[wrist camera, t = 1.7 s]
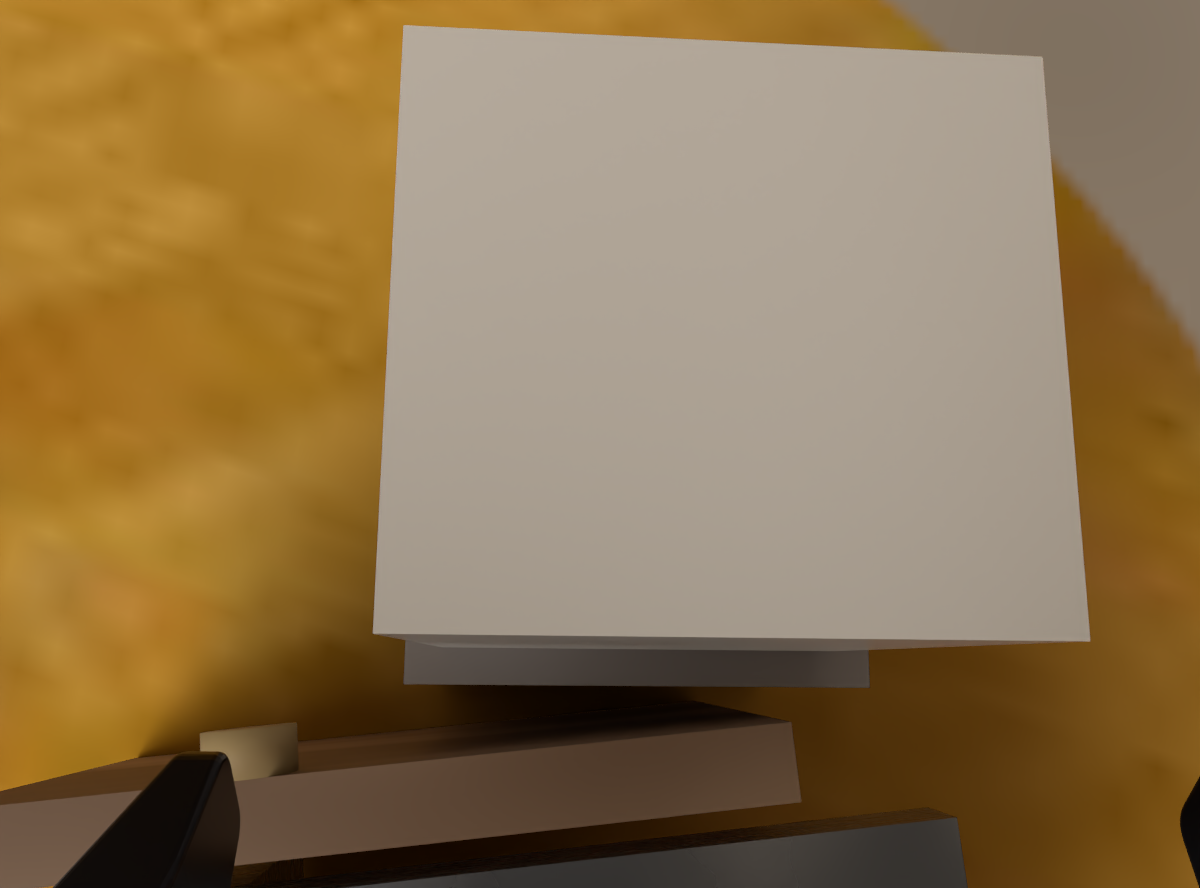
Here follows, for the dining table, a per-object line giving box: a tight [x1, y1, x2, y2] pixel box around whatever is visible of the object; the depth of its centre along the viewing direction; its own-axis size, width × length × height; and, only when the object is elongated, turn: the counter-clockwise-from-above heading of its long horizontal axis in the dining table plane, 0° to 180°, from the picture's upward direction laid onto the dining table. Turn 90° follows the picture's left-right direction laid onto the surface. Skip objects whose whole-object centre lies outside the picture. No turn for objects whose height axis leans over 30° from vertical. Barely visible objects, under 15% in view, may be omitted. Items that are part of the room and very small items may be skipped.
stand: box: [404, 640, 870, 688], centre depth 19 cm, size 6×6×7 cm
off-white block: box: [373, 25, 1090, 651], centre depth 12 cm, size 5×6×7 cm
